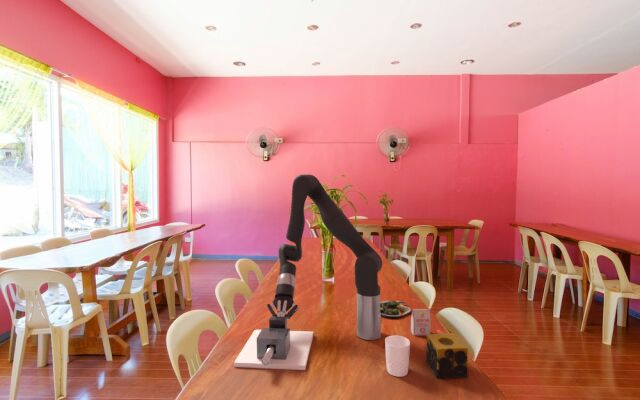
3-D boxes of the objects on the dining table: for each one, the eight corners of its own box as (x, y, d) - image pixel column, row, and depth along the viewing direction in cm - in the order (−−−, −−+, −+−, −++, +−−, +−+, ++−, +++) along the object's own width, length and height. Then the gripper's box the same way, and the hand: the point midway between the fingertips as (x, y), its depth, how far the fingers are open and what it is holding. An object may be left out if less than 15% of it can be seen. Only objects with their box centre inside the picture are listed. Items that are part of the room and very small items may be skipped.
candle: (454, 360, 112) (455, 332, 111) (469, 378, 102) (469, 347, 101) (425, 361, 112) (425, 333, 111) (436, 379, 101) (437, 348, 101)
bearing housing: (290, 347, 119) (289, 328, 118) (285, 359, 111) (285, 339, 110) (263, 346, 119) (262, 327, 119) (257, 358, 112) (256, 338, 111)
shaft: (287, 340, 123) (286, 316, 123) (274, 371, 103) (274, 343, 103) (271, 339, 124) (271, 316, 123) (256, 370, 104) (255, 342, 103)
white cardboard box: (410, 331, 134) (411, 307, 133) (427, 331, 134) (427, 307, 133) (413, 335, 130) (413, 311, 129) (430, 335, 130) (430, 311, 129)
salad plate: (392, 300, 169) (392, 291, 168) (420, 312, 154) (420, 302, 153) (363, 308, 158) (363, 299, 158) (390, 322, 143) (390, 311, 143)
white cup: (392, 380, 101) (392, 348, 101) (380, 366, 109) (380, 337, 108) (414, 375, 103) (414, 345, 103) (401, 362, 111) (402, 333, 110)
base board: (313, 335, 131) (313, 331, 131) (305, 370, 107) (305, 365, 107) (255, 333, 133) (255, 329, 133) (234, 366, 109) (234, 362, 109)
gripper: (268, 282, 133) (260, 325, 122) (300, 283, 132) (295, 326, 120) (271, 290, 139) (264, 332, 127) (302, 291, 137) (298, 333, 126)
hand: (279, 329), depth 124 cm, fingers closed
